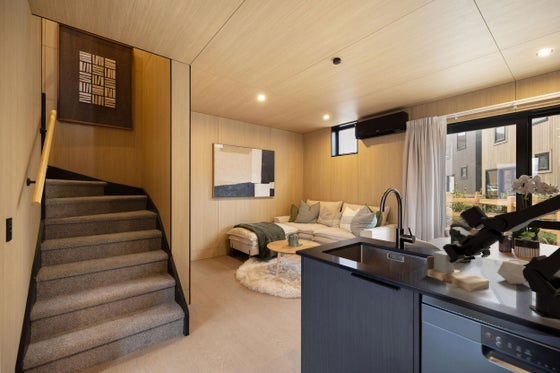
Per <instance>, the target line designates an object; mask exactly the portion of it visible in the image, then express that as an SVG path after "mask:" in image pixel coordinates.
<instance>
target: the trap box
mask: <svg viewBox="0 0 560 373" xmlns="http://www.w3.org/2000/svg"><path fill="white" fill-rule="evenodd" d="M426 276H427V277H431V278H433V279H435V280H438V281H440V282H443V281H444V283H446V282H447V283H446V284H449V285H452V286H455V287H457V288H460V289H462V290H464V291H468V292H472V291H477V290H482V289H486V288H490V279H486V278H484V277H480V276H477V275H473V274H469V275H468V274H465V273H462V272H461V270H458V269H456V268H454V272H449V273H444V272H441V271H438V270H435V269H434V255H431V256H426Z"/></svg>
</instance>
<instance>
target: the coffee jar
mask: <svg viewBox="0 0 560 373" xmlns="http://www.w3.org/2000/svg"><path fill="white" fill-rule="evenodd" d="M453 227H461V228H463V229H465V230H466V231H468V232H470V233H471V234H472V233H473V229H471V228H470V227H469V226H468V225H467V224H466V222H465V221H463V222H462V221H460V222H455V223H451V224H450V228H449V230H451V229H452V228H453ZM472 235H473V234H472ZM458 242H459V240H457V239H456V238H454V237H452V236H450V244H451V243H453V244H456V245H457V246H458V247H459V246H460V244H459V243H458ZM471 261H472V260H468V261H462V262H461V263H468V262H471Z"/></svg>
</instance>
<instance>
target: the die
mask: <svg viewBox="0 0 560 373" xmlns="http://www.w3.org/2000/svg"><path fill="white" fill-rule="evenodd" d="M523 269H524V267H523V266H522V265H520V264H519V263H518V262H517V261H507V260H504V261H502V263H501V265H500V266H499V269H498V270H497V272H496V273H497V274H498V275H499V276H500V277H501V278H503V279H504V280H505V281H506V282H507V283H508V284H510V285H524V284H525V282H526V279H525V278H524V276H523V273H522V271H523Z"/></svg>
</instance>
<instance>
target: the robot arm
mask: <svg viewBox="0 0 560 373" xmlns="http://www.w3.org/2000/svg"><path fill="white" fill-rule="evenodd" d="M558 212H560V193H558V194H557V195H554V196H552V197H549V198H547V199H544V200H542V201H539V202H537V203H533V204H531V205H529V206H527V207H524V208H522V209H518V210H513V211H508V212H504V213H503V212H502V213H499V214H496V215H494V216H488V215H487V214H486V213H485V212H484V210H482V209H481V208H480V206H479V205H473V206H472V207H469V208H466V209H465V210H463V211H461V213H460V214H459V217H460V218H461V219H462V220H463V222H464V223H466V224H467V225H468V226H469V227H470V228H471V229H472V230H473V229H475V230H477V231H476V232H474V233H473V234H471V233H470V232H468V231H466V230H465V229H463V228H461V227H453V228H452V229H451V230H450V229H449V230H448V231H449V232H448V235H449V236H450V237H451V236H452V237H454V238H456V239H457V240H459V242H458V243H459V244H460V246H459V247H458V246H457V245H456V244H453V243H451V242H450V243H445V244H444V245H443V246H442V249H443V251H445V252H446V253H447V254H448V256H449V257H450V258H451V259H450V262H451V263H454V264H456V263H460V262H461V263H463V262H462V261H468V260H471V261H474V260H476V257H477V256H480V257H481V258H482V259H485V258H488V257H489V256H490V255H491V250H490V249H491V246H493V245H494V244H496V243H497V242H499V243H500V244H501V245H502V244H503V245H504V244H509V243H510V239H509V235H508V234H504V233H508V232H509V233H511V232H512V233H513V232H517V231H520V230H521V229H523V228H525V227H526V226H528V225H530V223H532V222H533V221H536V220H539V219H540V218H544V217H547V216H549V215H552V214H555V213H558ZM528 262H529V263H528V264H525V265H523V266H525V268H524V269H523V271H522V273H523V276H524V278H525V279H526V280H525V282H526V281H527V283H528V286H529V288H530V290H531V292H533V293H535V305H532V304H529V305H528V307H529V308H530V309H532V311H534V312H535V313H537V314H538V315H539V316H541V317H544V318H550V319H557V320H560V246H559V247H558V248H557V249H555V250H554V251H553V252H552V253H551V254H549V255H548V256H547V255H546V254H542V255H536V256H533V257H532V258H531V259H530V260H529V261H528Z"/></svg>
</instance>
